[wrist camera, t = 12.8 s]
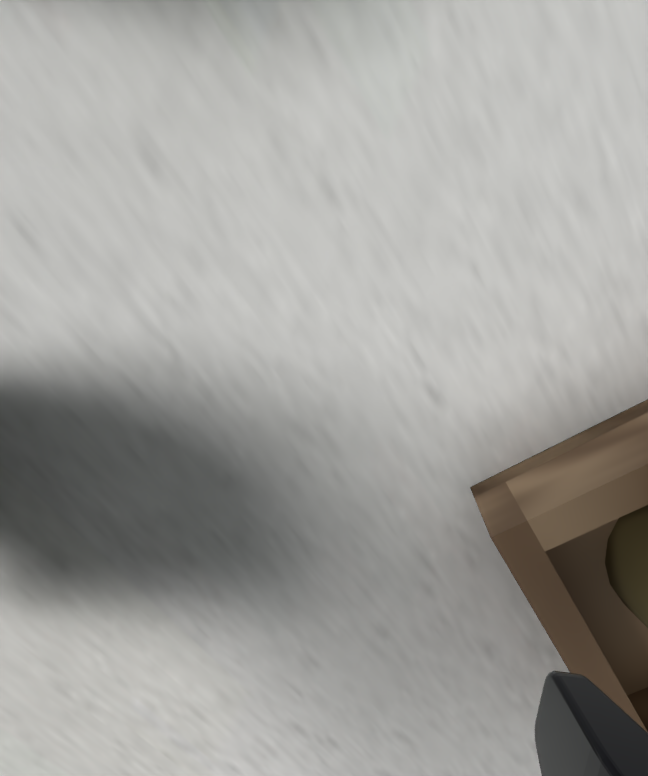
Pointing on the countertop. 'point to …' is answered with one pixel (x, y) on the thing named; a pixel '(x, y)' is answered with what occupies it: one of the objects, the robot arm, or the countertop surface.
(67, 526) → the countertop surface
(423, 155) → the countertop surface
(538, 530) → the tray
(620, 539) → the cork
